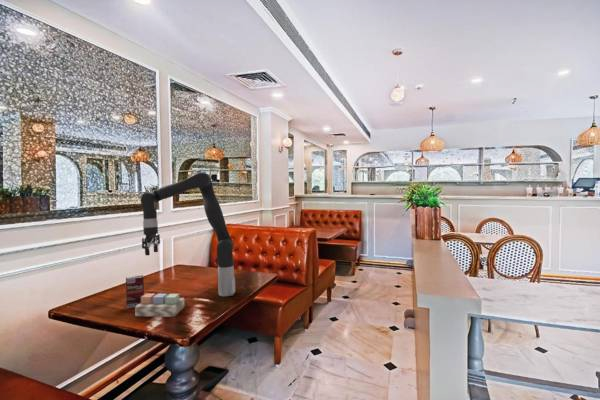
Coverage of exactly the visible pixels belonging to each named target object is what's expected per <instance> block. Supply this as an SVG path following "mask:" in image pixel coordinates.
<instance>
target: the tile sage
mask: <svg viewBox="0 0 600 400" xmlns="http://www.w3.org/2000/svg"><path fill="white" fill-rule="evenodd" d="M179 298H180V293H169V294H167V296H166V297H165V304H171V305H176V304H177V303H178V302H179Z"/></svg>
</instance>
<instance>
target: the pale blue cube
mask: <svg viewBox="0 0 600 400" xmlns="http://www.w3.org/2000/svg"><path fill="white" fill-rule="evenodd" d="M166 296H168V293H157V294H155V296H154V297H153V304H164V303H165V297H166Z"/></svg>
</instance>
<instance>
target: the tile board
mask: <svg viewBox="0 0 600 400" xmlns="http://www.w3.org/2000/svg"><path fill="white" fill-rule="evenodd" d="M184 308H185V297H179V302H178V303H177V304H176V305H171V304H165V303H164V304H153V303H152V304H141V303H139V304H138V305H136V306H135V307H134V314H135V317H163V318H164V317H165V318H166V317H169V318H170V317H172V318H174V317H176V316H177V315H178V314H179V313H180V312H181V311H182V310H183V309H184Z"/></svg>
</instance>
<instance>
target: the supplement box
mask: <svg viewBox="0 0 600 400" xmlns="http://www.w3.org/2000/svg"><path fill="white" fill-rule="evenodd" d="M144 282H145V281H144V275H143V274H142V275H134V276H128V277H127V276H126V277H125V295H126V299H125V300H126V301H125V302H126V303H125V305H126V309H131V308H135V306H136V305H138V304H139V303H141V297H142V296H143V295H145V288H144V287H145V286H144V285H145V283H144Z"/></svg>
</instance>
